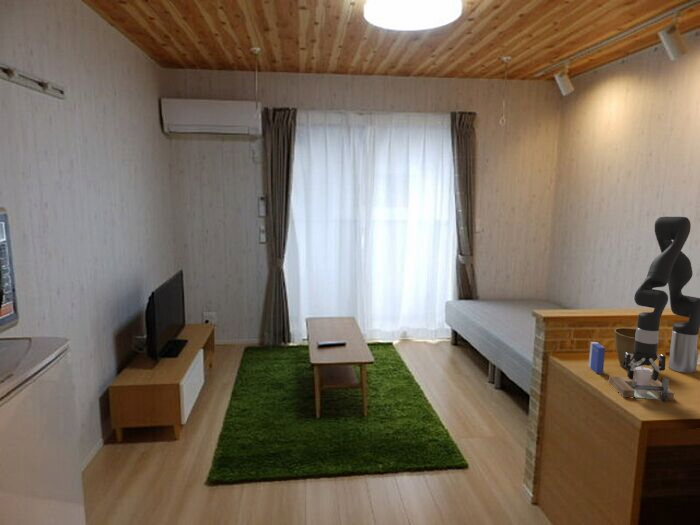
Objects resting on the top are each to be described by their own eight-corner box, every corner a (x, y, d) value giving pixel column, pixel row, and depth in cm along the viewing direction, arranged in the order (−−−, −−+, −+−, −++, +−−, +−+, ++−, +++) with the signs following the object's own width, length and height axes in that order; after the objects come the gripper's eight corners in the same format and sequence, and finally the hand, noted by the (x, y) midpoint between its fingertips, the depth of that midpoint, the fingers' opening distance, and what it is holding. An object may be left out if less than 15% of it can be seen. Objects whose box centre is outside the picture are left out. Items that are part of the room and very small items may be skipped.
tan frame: (655, 385, 186) (656, 378, 185) (673, 400, 173) (674, 392, 173) (608, 383, 188) (609, 376, 188) (622, 397, 176) (623, 390, 175)
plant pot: (615, 370, 201) (618, 336, 198) (608, 359, 215) (611, 326, 212) (654, 375, 196) (658, 339, 194) (644, 362, 210) (647, 329, 208)
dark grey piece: (664, 400, 173) (667, 377, 172) (667, 402, 171) (670, 380, 170) (629, 398, 175) (631, 376, 173) (631, 400, 173) (634, 378, 172)
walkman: (602, 373, 198) (605, 347, 196) (596, 373, 198) (598, 347, 196) (594, 366, 206) (596, 341, 204) (588, 366, 206) (590, 341, 204)
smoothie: (632, 387, 183) (636, 354, 181) (651, 392, 179) (655, 358, 177) (630, 393, 178) (633, 359, 176) (649, 397, 174) (653, 363, 172)
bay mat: (647, 389, 182) (647, 388, 182) (658, 399, 174) (658, 398, 174) (624, 388, 184) (624, 387, 183) (634, 397, 175) (634, 397, 175)
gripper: (661, 337, 178) (656, 376, 180) (622, 335, 180) (618, 374, 182) (672, 343, 171) (667, 384, 173) (631, 342, 172) (627, 382, 175)
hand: (642, 379), depth 178 cm, fingers open, 8 cm apart
